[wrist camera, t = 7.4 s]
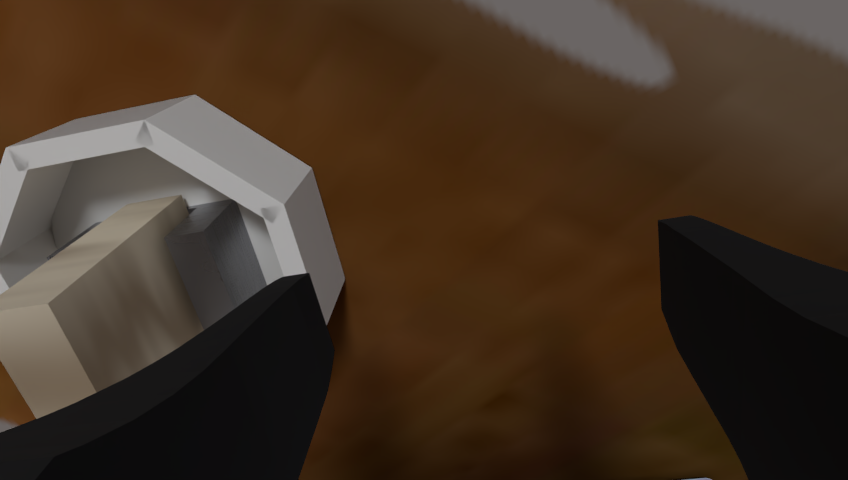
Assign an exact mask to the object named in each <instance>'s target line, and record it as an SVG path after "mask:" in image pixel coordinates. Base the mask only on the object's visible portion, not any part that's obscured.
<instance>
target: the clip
mask: <svg viewBox="0 0 848 480" xmlns="http://www.w3.org/2000/svg"><path fill="white" fill-rule="evenodd" d="M186 208H187V210H188V213H189V215H188V216H187V217H186V218H185V219H184V220H183V221H182V222H181V223H180V224H179V225H177V226H176V227H175V228H174V229H173V230H172V231H171V232H170V233H169V234H168V235H166V236H165V237H164V239H165V241H166V244H167V246H168V248H169V251H170V253H171V255H172V258H173V260H174V262H175V264H176V267H177V269H178V271H179V274H180V276H181V278H182V281H183V283H184V285H185V288H186V290H187V292H188V295H189V297H190V299H191V301H192V304H193V306H194V308H195V311H196V313H197V315H198V318H199V320H200V322H201V325H202V327H203V329H204V330H205V329H207V328H208V327H210V326H211V325H213V324H214V323H215V322H217V321H218V320H220V319H221V318H222V317H224V316H225V315H227V314H228V313H229V312H231V311H232V310H233V309H235V308H236V307H238V306H239V305H240V304H242V303H243V302H244V301H246V300H247V299H249V298H250V297H251V296H253V295H254V294H256V293H257V292H258V291H260V290H261V289H263V288H264V287H266V286H267V284H266V281H265V278H264V275H263V273H262V270H261V267H260V264H259V262H258V259H257V256H256V253H255V251H254V248H253V245H252V242H251V240H250V237H249V234H248V231H247V229H246V226H245V223H244V221H243V218H242V215H241V212H240V210H239V207H238V204H237V202H236V201H234V200H233V199H229V200H223V201H217V202H212V203H206V204H200V205H194V206H189V207H186ZM100 223H101V222H97V223H95V224H93V225H92V226H90V227H89V228H88V229H86V230H85V231H83V232H82V233H80V234H79V235H78V236H76V237H75V238H73V239H72V240H71V241H69V242H68V243H66V244H65V245H63V246H62V247H61V248H59V249H58V250H56V251H55V252H54V253H52V254H51V255H49V256H48V257H47V259H48V260H50V259H51V258H52V257H54V256H55V255H57V254H58V253H59V252H61V251H62V250H64V249H65V248H66V247H68V246H69V245H71V244H72V243H73V242H75V241H76V240H78V239H79V238H80V237H82V236H83V235H85V234H86V233H87V232H89V231H90V230H92V229H93V228H94V227H96V226H97V225H99V224H100Z"/></svg>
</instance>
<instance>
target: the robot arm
mask: <svg viewBox="0 0 848 480" xmlns="http://www.w3.org/2000/svg"><path fill="white" fill-rule="evenodd" d="M658 232H659V257H660V281H661V305H662V311H663V314H664V316H665V319H666V322H667V324H668V327H669V330H670V332H671V335H672V337H673V340H674V342H675V344H676V347H677V349H678V351H679V353H680V355H681V357H682V358H683V360H684V362H685V364H686V365H687V367H688V369H689V371H690V372H691V374H692V376H693V378H694V379H695V381H696V383H697V385H698V386H699V388H700V390H701V392H702V393H703V395H704V397H705V398H706V400H707V402H708V404H709V405H710V407H711V409H712V410H713V412H714V414H715V416H716V417H717V419H718V421H719V423H720V424H721V426H722V428H723V429H724V431H725V433H726V435H727V436H728V438H729V440H730V442H731V444H732V446H733V448H734V449H735V451H736V453H737V455H738V457H739V459H740V461H741V463H742V466H743V468H744V470H745V472H746V475H747V477H748V479H749V480H848V272H846V271H842V270H839V269H836V268H832V267H829V266H826V265H822V264H819V263H816V262H813V261H811V260H808V259H805V258H802V257H799V256H796V255H793V254H790V253H787V252H785V251H782V250H779V249H776V248H774V247H771V246H769V245H766V244H763V243H761V242H758V241H756V240H753V239H751V238H749V237H746V236H744V235H741V234H739V233H736V232H734V231H732V230H729V229H727V228H724V227H722V226H719V225H717V224H714V223H712V222H709V221H707V220H704V219H701V218H698V217H695V216H684V217H677V218H671V219H664V220H658ZM334 351H335V350H334V347H333V344H332V341H331V338H330V335H329V332H328V329H327V326H326V323H325V320H324V317H323V313H322V310H321V307H320V304H319V301H318V298H317V295H316V292H315V289H314V286H313V283H312V280H311V277H310V274H309V273H304V274H298V275H291V276H284V277H281V278H279V279H277V280H275V281H274V282H272V283H270V284H269V285H267V286H266V287H264V288H263V289H261V290H260V291H258V292H257V293H256V294H254V295H253V296H251V297H250V298H249V299H247V300H246V301H244V302H243V303H242V304H240V305H239V306H238V307H236V308H235V309H233V310H232V311H231V312H229V313H228V314H227V315H225V316H224V317H222V318H221V319H220V320H218V321H217V322H215V323H214V324H213V325H211V326H210V327H208V328H207V329H205V330H204V331H202V332H201V333H199V334H198V335H196V336H195V337H193V338H192V339H190V340H189V341H187V342H186V343H184V344H183V345H181V346H180V347H179V348H177V349H175V350H174V351H172V352H171V353H169V354H167V355H166V356H164V357H162V358H161V359H159V360H157V361H156V362H154V363H152V364H150V365H149V366H147V367H145V368H143V369H142V370H140V371H138V372H136V373H134V374H133V375H131V376H129V377H127V378H125V379H123V380H121V381H119V382H117V383H115V384H113V385H111V386H109V387H107V388H105V389H103V390H101V391H99V392H96V393H94V394H92V395H90V396H88V397H86V398H84V399H82V400H80V401H78V402H76V403H73V404H71V405H69V406H67V407H64V408H62V409H60V410H57V411H55V412H52V413H50V414H48V415H45V416H43V417H40V418H38V419H35V420H33V421H30V422H27V423H25V424H22V425H20V426H17V427H15V428H12V429H9V430H6V431H4V432H1V433H0V480H298V478H299V475H300V472H301V469H302V467H303V464H304V461H305V458H306V455H307V452H308V449H309V446H310V443H311V440H312V437H313V434H314V431H315V428H316V425H317V422H318V419H319V416H320V413H321V410H322V407H323V404H324V401H325V398H326V395H327V391H328V387H329V382H330V377H331V371H332V365H333V358H334ZM683 480H712V479H709V478H695V479H683Z"/></svg>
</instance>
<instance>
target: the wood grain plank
mask: <svg viewBox="0 0 848 480" xmlns="http://www.w3.org/2000/svg"><path fill="white" fill-rule="evenodd" d="M188 215H189V213H188V210H187V208H186V205H185V203H184V200H183V198H182V195H177V196H171V197H165V198H159V199H154V200H148V201H142V202H136V203H131V204H127V205H125V206H124V207H122V208H121V209H120V210H118V211H117V212H115V213H114V214H113V215H111V216H110V217H108V218H107V219H106V220H104V221H103V222H101V223H100V224H99V225H97V226H96V227H94V228H93V229H92V230H90V231H89V232H87V233H86V234H85V235H83V236H82V237H80V238H79V239H78V240H76V241H75V242H73V243H72V244H71V245H69V246H68V247H66V248H65V249H64V250H62V251H61V252H59V253H58V254H57V255H55V256H54V257H52V258H51V259H50V260H48V261H47V262H45V263H44V264H43V265H41V266H40V267H38V268H37V269H36V270H34V271H33V272H31V273H30V274H29V275H27V276H26V277H24V278H23V279H22V280H20V281H19V282H17V283H16V284H15V285H13V286H12V287H10V288H9V289H8V290H6V291H5V292H3V293H2V294H1V295H0V360H1V362H2V364H3V365H4V367H5V368H6V370H7V372H8V373H9V375H10V377H11V378H12V380H13V381H14V383H15V385H16V386H17V388H18V389H19V391H20V393H21V394H22V396H23V398H24V399H25V401H26V402H27V404H28V406H29V407H30V409H31V410H32V412H33V414H34V415H35V417H36V419H38V418H40V417H43V416H45V415H48V414H50V413H52V412H55V411H57V410H60V409H62V408H64V407H67V406H69V405H71V404H73V403H76V402H78V401H80V400H82V399H84V398H86V397H88V396H90V395H92V394H94V393H96V392H99V391H101V390H103V389H105V388H107V387H109V386H111V385H113V384H115V383H117V382H119V381H121V380H123V379H125V378H127V377H129V376H131V375H133V374H134V373H136V372H138V371H140V370H142V369H143V368H145V367H147V366H149V365H150V364H152V363H154V362H156V361H157V360H159V359H161V358H162V357H164V356H166V355H167V354H169V353H171V352H172V351H174V350H175V349H177V348H179V347H180V346H181V345H183V344H184V343H186V342H187V341H189V340H190V339H192V338H193V337H195V336H196V335H198V334H199V333H201V332H202V331H204V329H203V327H202V325H201V322H200V320H199V318H198V315H197V313H196V311H195V308H194V306H193V304H192V301H191V299H190V297H189V295H188V292H187V290H186V288H185V285H184V283H183V281H182V278H181V276H180V274H179V271H178V269H177V267H176V264H175V262H174V260H173V258H172V255H171V253H170V251H169V248H168V246H167V244H166V241H165V239H164V237H165V236H166V235H168V234H169V233H170V232H171V231H172V230H173V229H174V228H175V227H176V226H177V225H179V224H180V223H181V222H182V221H183V220H184V219H185V218H186V217H187V216H188Z"/></svg>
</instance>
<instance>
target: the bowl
mask: <svg viewBox="0 0 848 480" xmlns="http://www.w3.org/2000/svg"><path fill="white" fill-rule="evenodd" d="M177 195H182V198H183V200H184V203H185V205H186V207H189V206H194V205H200V204H206V203H212V202H217V201H223V200H229V199H233V200H234V201H236V202H237V204H238V207H239V210H240V212H241V215H242V218H243V221H244V223H245V226H246V229H247V231H248V234H249V237H250V240H251V242H252V245H253V248H254V251H255V253H256V256H257V259H258V262H259V264H260V267H261V270H262V273H263V275H264V278H265V281H266V284H267V285H269V284H270V283H272V282H274V281H275V280H277V279H279V278H281V277H284V276H291V275H298V274H304V273H309V274H310V277H311V280H312V283H313V286H314V289H315V292H316V295H317V298H318V301H319V304H320V307H321V310H322V313H323V317H324V320H325V323H326V326H327V324H328V321H329V319H330V316H331V314H332V311H333V309H334V306H335V304H336V301H337V298H338V296H339V293H340V291H341V288H342V286H343V283H344V281H345V277H344V273H343V270H342V267H341V263H340V260H339V257H338V253H337V250H336V247H335V243H334V240H333V237H332V233H331V230H330V227H329V223H328V220H327V217H326V213H325V210H324V207H323V203H322V200H321V197H320V193H319V190H318V187H317V183H316V180H315V176H314V173H313V170H312V168H311V167H310V166H308V165H307V164H305V163H303V162H302V161H300V160H299V159H297V158H295V157H294V156H292V155H291V154H289V153H287V152H286V151H284V150H283V149H281V148H279V147H278V146H276V145H275V144H273V143H271V142H270V141H268V140H267V139H265V138H263V137H262V136H260V135H259V134H257V133H255V132H254V131H252V130H251V129H249V128H248V127H246V126H244V125H243V124H241V123H240V122H238V121H236V120H235V119H233V118H232V117H230V116H228V115H227V114H225V113H224V112H222V111H220V110H219V109H217V108H216V107H214V106H212V105H211V104H209V103H208V102H206V101H204V100H203V99H201V98H200V97H198V96H196V95H190V96H186V97H181V98H176V99H171V100H166V101H161V102H156V103H152V104H147V105H142V106H137V107H132V108H127V109H123V110H118V111H113V112H108V113H103V114H98V115H93V116H89V117H84V118H79V119H75V120H72V121H70V122H68V123H65V124H63V125H60V126H58V127H55V128H53V129H50V130H48V131H45V132H43V133H41V134H38V135H36V136H33V137H31V138H28V139H26V140H23V141H21V142H19V143H16V144H14V145H11V146H9V147H6V149H5V152H4V155H3V158H2V161H1V164H0V295H1V294H2V293H3V292H5V291H6V290H8V289H9V288H10V287H12V286H13V285H15V284H16V283H17V282H19V281H20V280H22V279H23V278H24V277H26V276H27V275H29V274H30V273H31V272H33V271H34V270H36V269H37V268H38V267H40V266H41V265H43V264H44V263H45V262H47V261H48V259H47V257H48V256H49V255H51V254H52V253H54V252H55V251H56V250H58V249H59V248H61V247H62V246H63V245H65V244H66V243H68V242H69V241H71V240H72V239H73V238H75V237H76V236H78V235H79V234H80V233H82V232H83V231H85V230H86V229H88V228H89V227H90V226H92V225H93V224H95V223H97V222H103V221H104V220H106V219H107V218H108V217H110V216H111V215H113V214H114V213H115V212H117V211H118V210H120V209H121V208H122V207H124V206H125V205H127V204H131V203H136V202H142V201H148V200H154V199H159V198H165V197H171V196H177Z"/></svg>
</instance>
